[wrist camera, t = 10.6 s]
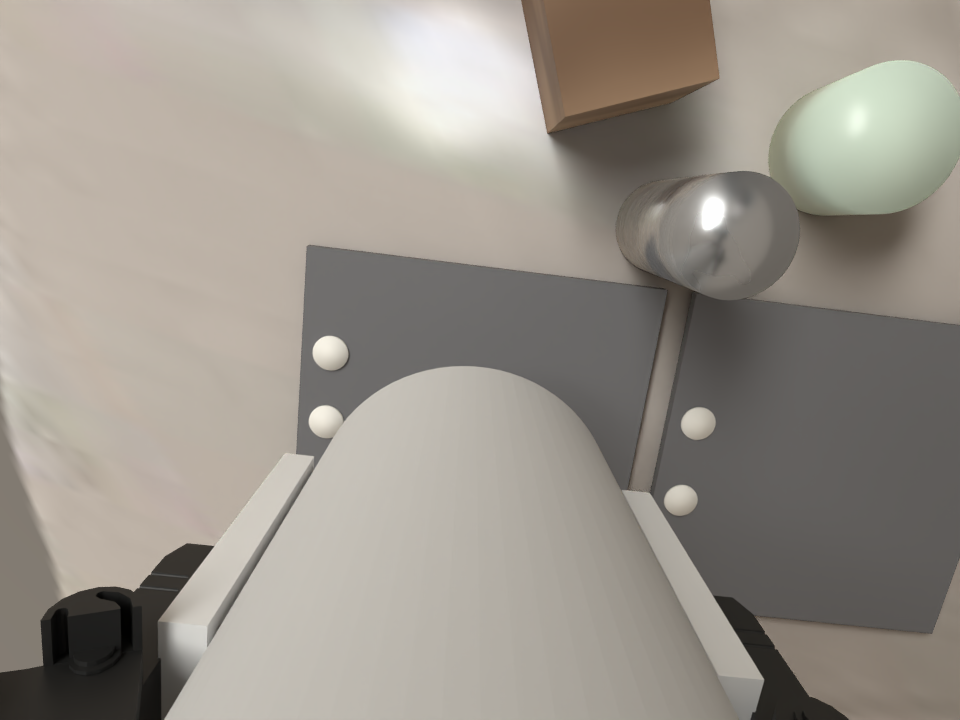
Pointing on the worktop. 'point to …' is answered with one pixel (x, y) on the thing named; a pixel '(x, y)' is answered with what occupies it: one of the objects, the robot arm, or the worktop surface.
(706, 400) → the pad two
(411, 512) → the white cylinder
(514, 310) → the pad three
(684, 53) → the walnut block
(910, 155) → the pale green domed piece
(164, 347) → the worktop surface
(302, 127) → the worktop surface
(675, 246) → the metal peg
